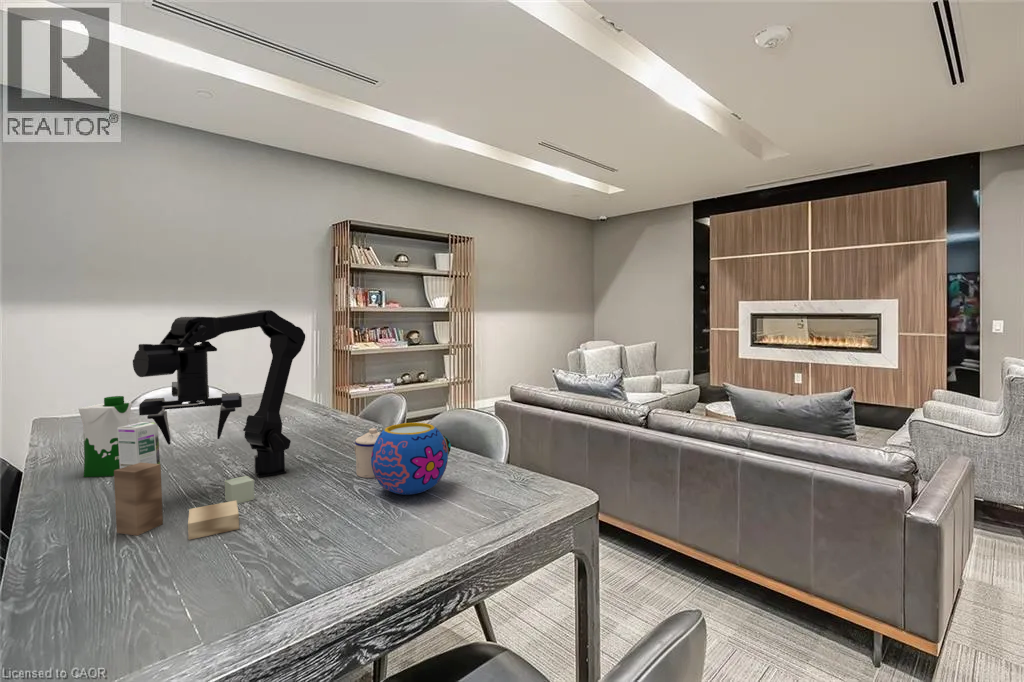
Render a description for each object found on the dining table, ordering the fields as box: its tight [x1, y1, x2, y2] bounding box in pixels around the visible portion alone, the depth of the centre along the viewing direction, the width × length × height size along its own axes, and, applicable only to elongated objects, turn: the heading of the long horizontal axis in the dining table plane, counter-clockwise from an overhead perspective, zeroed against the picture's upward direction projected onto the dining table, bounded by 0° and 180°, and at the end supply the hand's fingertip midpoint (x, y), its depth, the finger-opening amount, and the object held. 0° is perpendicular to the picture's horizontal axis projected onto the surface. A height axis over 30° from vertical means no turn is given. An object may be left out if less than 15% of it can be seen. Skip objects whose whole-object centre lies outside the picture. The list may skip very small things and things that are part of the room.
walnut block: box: [113, 463, 164, 536], centre depth 90 cm, size 5×5×12 cm
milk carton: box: [78, 395, 132, 478], centre depth 123 cm, size 9×9×20 cm
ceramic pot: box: [371, 422, 452, 496], centre depth 109 cm, size 18×18×15 cm
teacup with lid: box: [354, 427, 381, 479], centre depth 123 cm, size 12×9×12 cm
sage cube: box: [224, 475, 255, 505], centre depth 105 cm, size 4×4×4 cm
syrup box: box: [117, 421, 161, 468], centre depth 116 cm, size 6×6×14 cm
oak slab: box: [187, 500, 240, 541], centre depth 91 cm, size 8×8×3 cm
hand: (194, 441), depth 106 cm, fingers open, 9 cm apart
